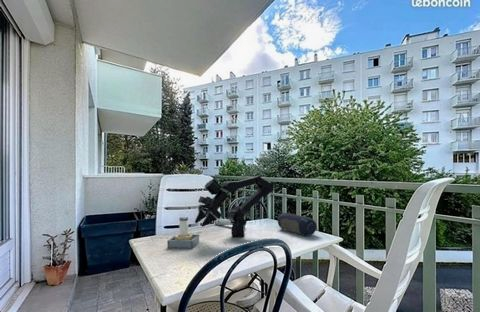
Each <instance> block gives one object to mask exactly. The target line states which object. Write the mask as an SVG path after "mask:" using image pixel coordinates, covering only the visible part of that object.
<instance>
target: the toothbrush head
mask: <svg viewBox="0 0 480 312" xmlns="http://www.w3.org/2000/svg"><path fill="white" fill-rule="evenodd" d="M216 219H217V218H216ZM214 224H215V225H216V226H232V225H233V224H232V223H231V221H230V220H229V219H228V218H227V219H226V218H222V217H221V218H220V219H217V220H215V221H214ZM245 229H246V225H244V230H245Z"/></svg>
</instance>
